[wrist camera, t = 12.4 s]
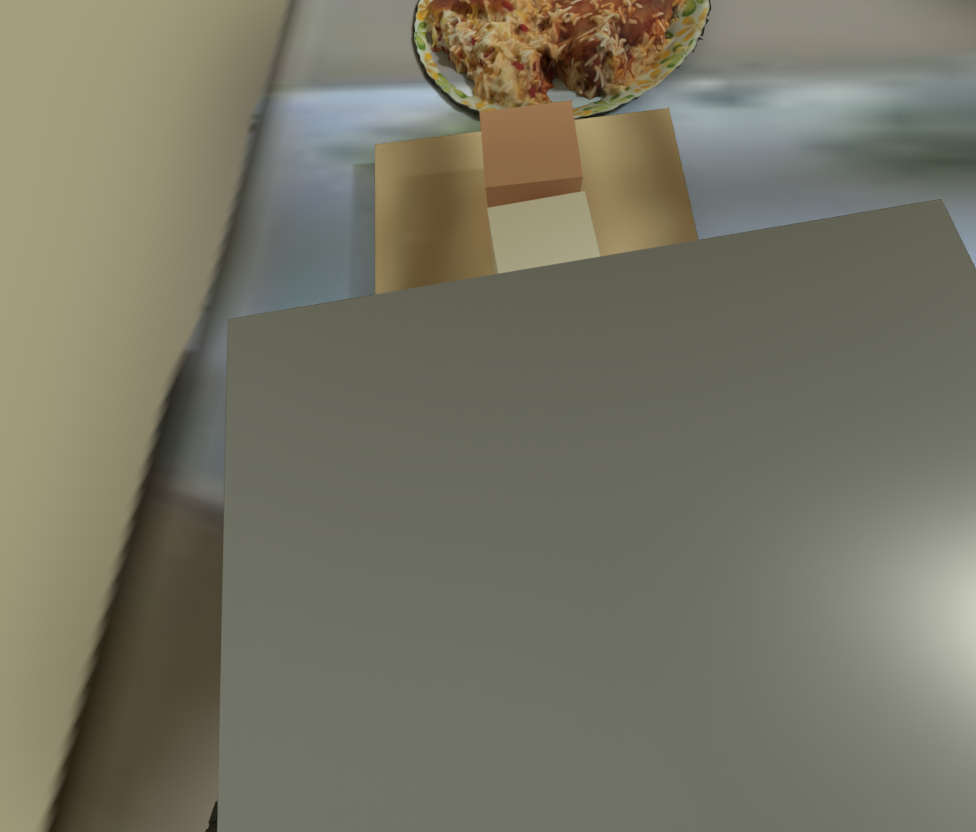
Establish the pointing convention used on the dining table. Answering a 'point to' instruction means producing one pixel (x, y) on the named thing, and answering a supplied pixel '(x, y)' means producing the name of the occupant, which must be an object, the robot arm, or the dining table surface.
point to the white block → (541, 232)
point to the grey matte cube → (612, 544)
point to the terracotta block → (530, 153)
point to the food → (557, 47)
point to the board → (463, 206)
